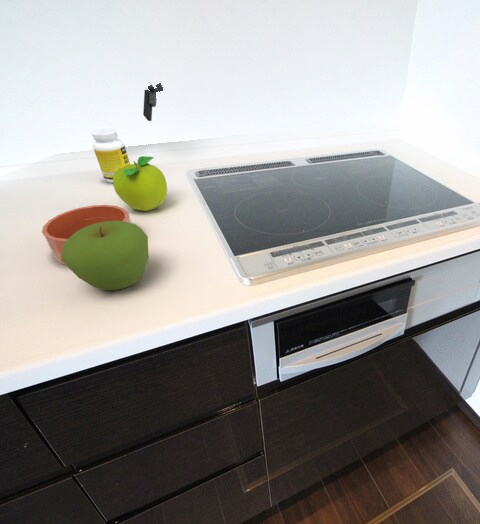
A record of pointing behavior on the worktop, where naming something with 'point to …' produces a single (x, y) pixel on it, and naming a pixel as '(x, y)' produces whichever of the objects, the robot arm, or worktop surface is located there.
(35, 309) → the worktop surface
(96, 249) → the apple
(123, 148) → the pill bottle
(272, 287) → the worktop surface
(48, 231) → the bowl
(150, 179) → the fruit
